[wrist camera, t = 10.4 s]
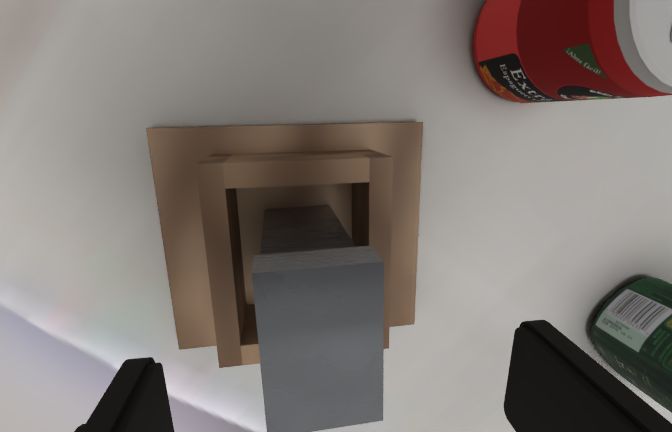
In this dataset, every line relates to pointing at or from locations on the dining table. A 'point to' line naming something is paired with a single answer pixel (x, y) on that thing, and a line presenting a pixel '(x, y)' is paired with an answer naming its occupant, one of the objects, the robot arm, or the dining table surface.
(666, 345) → the coffee jar
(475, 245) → the dining table surface
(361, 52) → the dining table surface
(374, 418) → the grey boxy piece
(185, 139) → the well block
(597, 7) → the canned food
